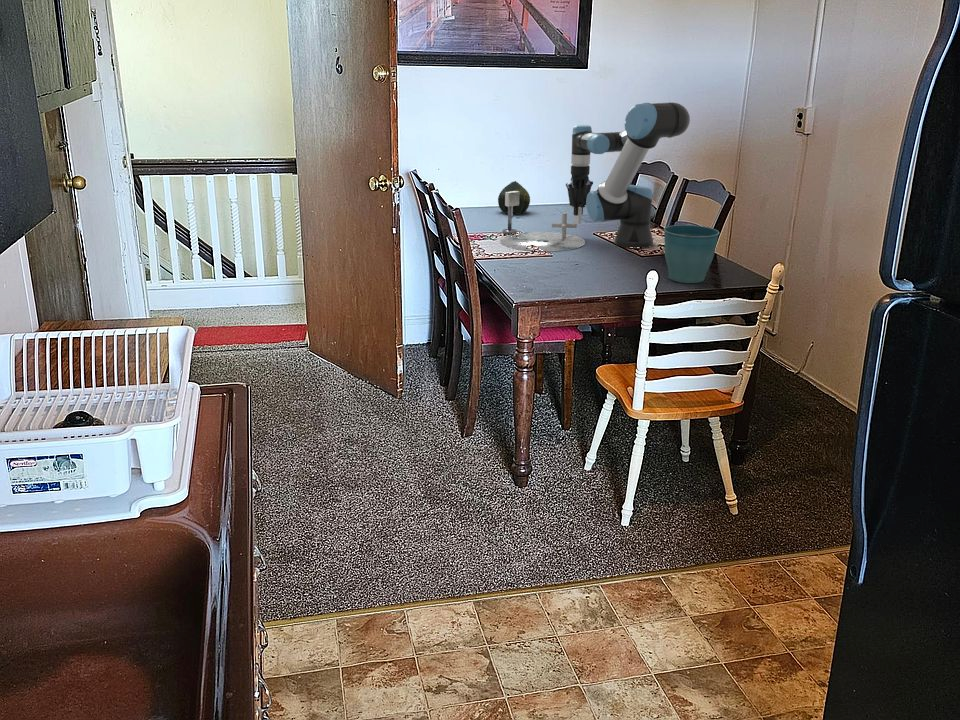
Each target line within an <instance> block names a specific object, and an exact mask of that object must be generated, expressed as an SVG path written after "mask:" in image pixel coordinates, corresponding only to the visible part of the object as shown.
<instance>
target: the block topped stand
mask: <svg viewBox="0 0 960 720" xmlns="http://www.w3.org/2000/svg"><path fill="white" fill-rule="evenodd" d="M519 195H520V192H519V191H511V192H505V206H508V213H507V228H504V229H502V231H501V232H503V233H502V234H504V233H507V234H506V235H511V234H510V233H516V232H517V229H515V228H512V226H513V222H512V219H513V218H514V217H513V216H514V215H513V214H514V211H513V206H517V205H519ZM516 234H517V233H516Z"/></svg>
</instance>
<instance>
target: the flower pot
mask: <svg viewBox="0 0 960 720" xmlns="http://www.w3.org/2000/svg"><path fill="white" fill-rule="evenodd" d="M663 232H664V247H663V248H664V257H665V262H666V265H667V270H668V278H669V279H670V280H671V281H674V282H678V283H683V284H697V283H702V282H704V281H705V279H706V275H707V272H708V270H709V268H710V266H711V264H712V261H713V259H714V256H715V252H716V249H717V248H716V247H717V243H718V239H719V236H720V231H719V230H718V229H715V228H713V227H710V226H709V227H708V226H702V225H691V224H677V225H676V224H673V225H668V226H666V227H664V228H663Z"/></svg>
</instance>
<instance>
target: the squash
mask: <svg viewBox="0 0 960 720" xmlns="http://www.w3.org/2000/svg"><path fill="white" fill-rule="evenodd" d="M511 191H519V192H520V195H519V205H517V206H513V214H515V213H516V215H519V214H522V213H526V211H527V210H528V208H529V207H530V204H531V197H530V194H529V192H528V191H527V189H526V188H525V187H523V185H522V184H520V183H519V182H518V181H516V180H515V181H511V182H510V183H509V184H507V185H506V186H504V187H503V188H502V190H501V191H500V192H499V195H498V198H497V202H498V207H499V209H500V211H501V212H503V213H505V212H508V206H505V192H511Z"/></svg>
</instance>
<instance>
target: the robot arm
mask: <svg viewBox="0 0 960 720" xmlns="http://www.w3.org/2000/svg"><path fill="white" fill-rule="evenodd" d="M624 121H625V123H624V130H622V131H617V132H616V131H615V132H612V131H611V132H593V130H592V126H591V125H588V124H576V125H573V127H572V134H571V159H570V160H571V161H570V164H571V165H570V174H571V177H570V181H569V182H566V183H565V187H566V189H567V196H568V201H569V206H570V207H573V215H574V217H573V218H574V219H573V220H574V221H573V224H578V225H579V224H582V217H583V216H582V215H583V214H584V208H585V207H586V211H587V213H588V216H589V218H590V220H592V221H593V222H601V223H603V222H610V221H620V222H619V227H618V230H617V232H616V234H615V236H614V245H615V244H616V245H615V246H617V245H618V246H617V247H620V246H623V247H622V248H625V247H648V248H650V247H649V246H651V247H653V246H654V237H653V235H652V229H651V216H652V215H651V214H652V201H653V190H652V189H651V188H650V187H647V186H642V185H634V184H631V183H632V181H633V180H634V178H635V176H636V174H637V172H638V171H639V169H640V167H641V166H642V163H643V161H644V160H645V158H646V156H647V153H648V152H649V150H651V149H654V148H656V146H657V144H658V142H659V141H660V140H661V139H662V138H668V139H671V138H674V137H675V138H676V137H677V136H680V135H683V134H684V133H685V132H686V131H687V130H688V128H689V125H690V122H691V119H690V114H689V111H688V110H687V108H686V107H685V106H684V105H682V104H680V103H678V102H657V103H650V102H644V103H638V104H635V105H633V106H631V108H630V109H629V110H628V112H627V114H626V116H625V120H624ZM616 152H617V153H619V154H618V157H617V159H616V161H615V162H614V164H613V167H612V168H611V170H610V173H609V175H608V176H607V178H606V180H603V181H602V182H601V183H599V186H598V188H597V189H596V190H592V189H591V188H592V186H593V185H594V181H592V180H590V177H589V175H590V168H591V167H590V165H591V154H594V155H603V154H605V153H616ZM652 245H653V246H652Z"/></svg>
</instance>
